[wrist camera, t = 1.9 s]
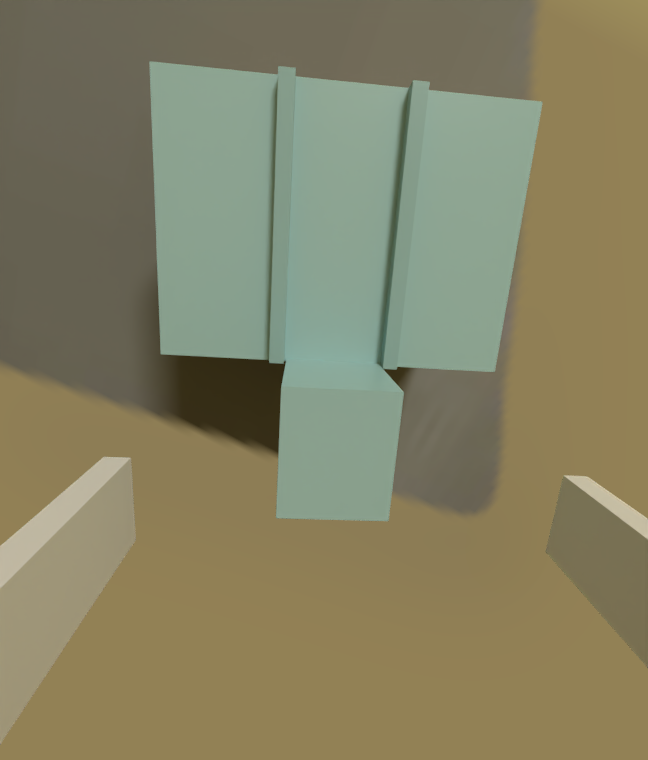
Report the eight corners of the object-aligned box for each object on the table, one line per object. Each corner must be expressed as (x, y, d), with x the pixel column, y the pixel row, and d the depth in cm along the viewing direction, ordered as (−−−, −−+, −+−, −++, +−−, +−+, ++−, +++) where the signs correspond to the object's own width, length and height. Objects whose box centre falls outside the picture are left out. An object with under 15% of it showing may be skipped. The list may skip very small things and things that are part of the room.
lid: (177, 440, 19) (120, 514, 13) (166, 85, 16) (80, -38, 10) (462, 451, 20) (530, 524, 14) (517, 120, 17) (641, 29, 11)
